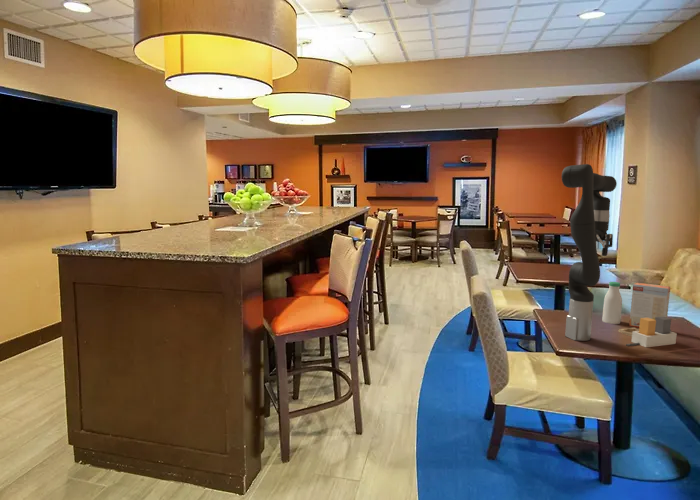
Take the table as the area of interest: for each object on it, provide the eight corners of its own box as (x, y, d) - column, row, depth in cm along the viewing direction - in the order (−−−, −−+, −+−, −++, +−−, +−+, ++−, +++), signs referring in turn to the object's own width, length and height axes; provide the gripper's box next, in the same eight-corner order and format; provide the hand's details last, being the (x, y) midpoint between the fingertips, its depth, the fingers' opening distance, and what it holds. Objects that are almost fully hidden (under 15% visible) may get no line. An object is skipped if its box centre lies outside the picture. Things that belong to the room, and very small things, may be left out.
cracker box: (666, 330, 217) (671, 286, 214) (663, 333, 212) (668, 288, 209) (631, 324, 226) (636, 281, 223) (628, 326, 222) (632, 283, 219)
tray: (635, 339, 204) (635, 335, 204) (618, 332, 213) (618, 329, 212) (651, 337, 207) (651, 333, 206) (634, 331, 215) (634, 327, 215)
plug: (646, 344, 195) (648, 321, 194) (637, 341, 199) (640, 318, 197) (653, 343, 196) (656, 320, 195) (645, 340, 200) (647, 317, 199)
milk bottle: (623, 325, 224) (627, 284, 221) (607, 324, 224) (610, 284, 221) (614, 320, 232) (618, 280, 229) (599, 320, 232) (602, 280, 229)
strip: (634, 349, 191) (636, 323, 190) (620, 344, 198) (622, 318, 196) (675, 344, 198) (678, 319, 196) (660, 339, 204) (662, 314, 203)
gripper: (581, 218, 223) (579, 252, 225) (605, 221, 210) (602, 257, 212) (594, 218, 225) (591, 251, 228) (619, 221, 212) (615, 256, 214)
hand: (597, 254), depth 220 cm, fingers open, 8 cm apart
